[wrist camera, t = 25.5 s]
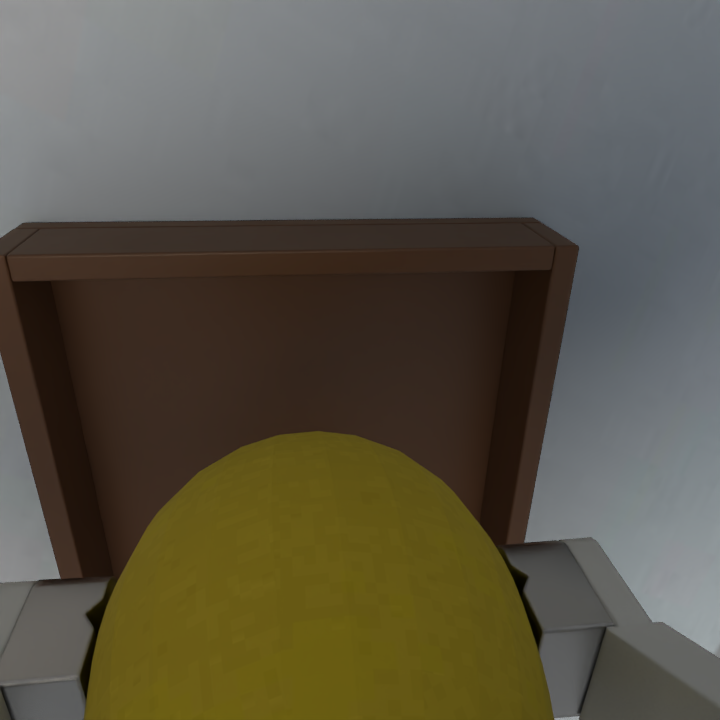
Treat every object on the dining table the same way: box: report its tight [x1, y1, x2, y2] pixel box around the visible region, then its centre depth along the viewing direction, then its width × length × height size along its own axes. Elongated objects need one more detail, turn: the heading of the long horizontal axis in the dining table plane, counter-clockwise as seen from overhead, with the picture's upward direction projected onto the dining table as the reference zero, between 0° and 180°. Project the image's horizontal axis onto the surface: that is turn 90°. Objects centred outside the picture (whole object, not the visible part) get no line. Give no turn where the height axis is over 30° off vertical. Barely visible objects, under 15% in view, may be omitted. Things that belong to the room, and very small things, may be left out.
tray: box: [0, 218, 579, 580], centre depth 19 cm, size 13×17×3 cm
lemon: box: [84, 431, 554, 720], centre depth 8 cm, size 6×6×8 cm
